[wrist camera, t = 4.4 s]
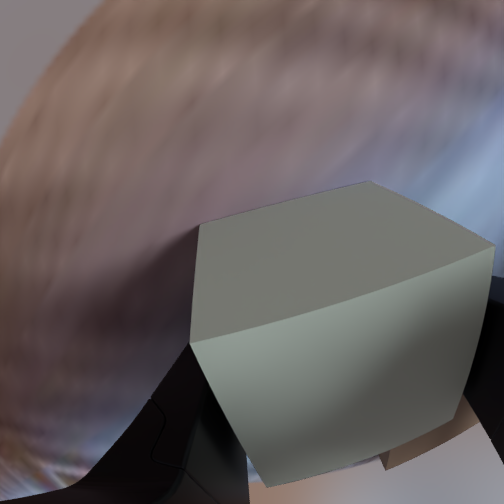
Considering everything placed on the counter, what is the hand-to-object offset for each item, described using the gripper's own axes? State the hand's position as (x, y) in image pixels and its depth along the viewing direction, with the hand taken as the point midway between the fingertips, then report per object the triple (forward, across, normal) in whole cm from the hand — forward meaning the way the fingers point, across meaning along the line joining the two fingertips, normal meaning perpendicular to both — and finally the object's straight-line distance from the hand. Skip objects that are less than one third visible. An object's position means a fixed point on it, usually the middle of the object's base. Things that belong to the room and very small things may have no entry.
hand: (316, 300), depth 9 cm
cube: (+1, 0, 0) cm, 1 cm away
